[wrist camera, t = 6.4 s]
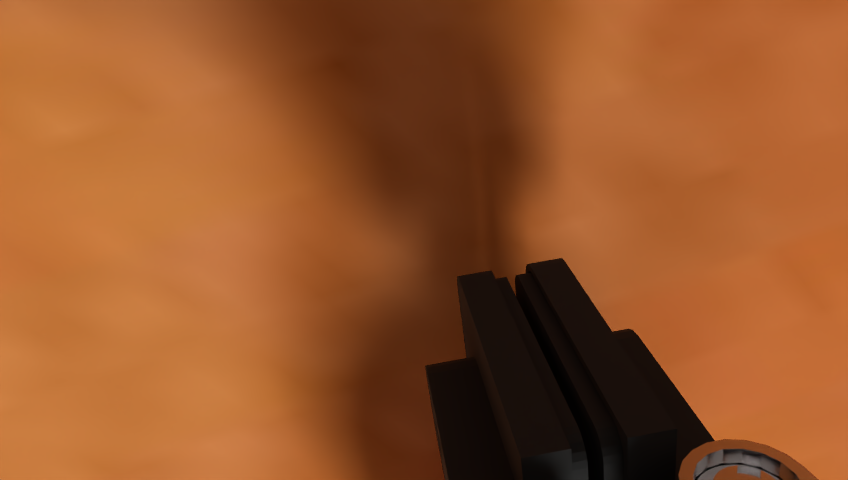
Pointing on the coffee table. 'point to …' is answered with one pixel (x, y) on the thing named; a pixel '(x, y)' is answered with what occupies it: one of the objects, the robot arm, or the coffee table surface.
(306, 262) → the coffee table surface
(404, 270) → the coffee table surface
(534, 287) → the robot arm
